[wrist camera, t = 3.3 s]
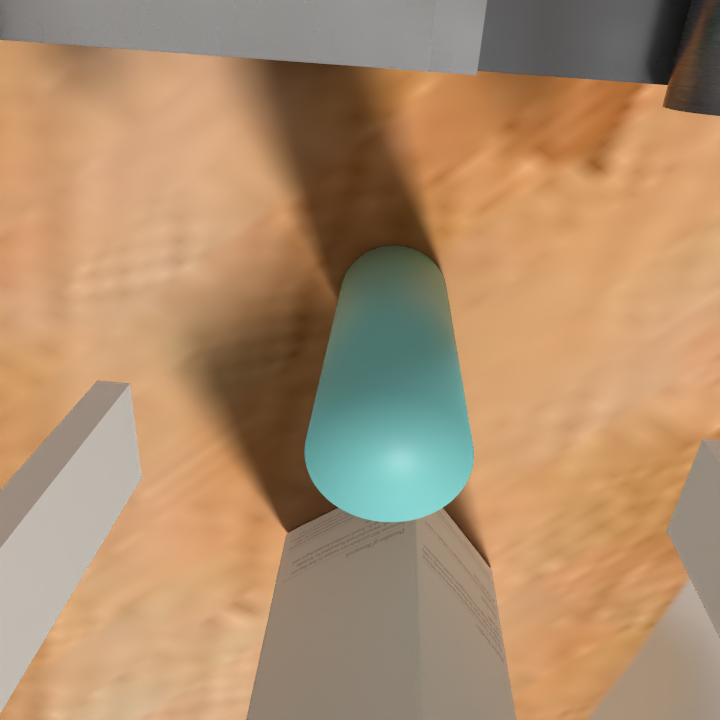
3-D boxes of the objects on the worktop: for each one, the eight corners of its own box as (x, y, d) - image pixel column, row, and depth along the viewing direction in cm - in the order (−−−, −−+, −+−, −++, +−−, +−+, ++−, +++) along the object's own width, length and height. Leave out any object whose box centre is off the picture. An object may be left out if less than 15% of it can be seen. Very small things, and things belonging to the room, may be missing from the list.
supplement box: (281, 530, 30) (209, 835, 18) (416, 465, 27) (426, 768, 16) (367, 624, 32) (349, 939, 21) (496, 572, 30) (552, 894, 19)
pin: (440, 348, 25) (460, 529, 16) (338, 339, 25) (302, 514, 16) (453, 250, 23) (486, 393, 14) (343, 241, 23) (306, 377, 14)
